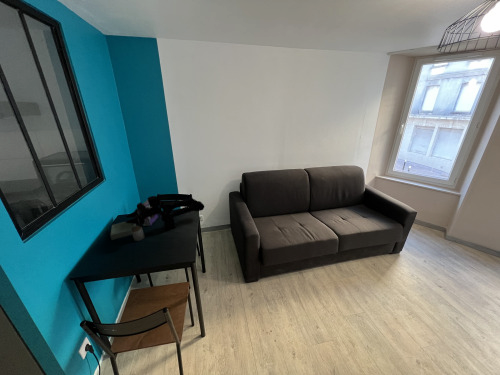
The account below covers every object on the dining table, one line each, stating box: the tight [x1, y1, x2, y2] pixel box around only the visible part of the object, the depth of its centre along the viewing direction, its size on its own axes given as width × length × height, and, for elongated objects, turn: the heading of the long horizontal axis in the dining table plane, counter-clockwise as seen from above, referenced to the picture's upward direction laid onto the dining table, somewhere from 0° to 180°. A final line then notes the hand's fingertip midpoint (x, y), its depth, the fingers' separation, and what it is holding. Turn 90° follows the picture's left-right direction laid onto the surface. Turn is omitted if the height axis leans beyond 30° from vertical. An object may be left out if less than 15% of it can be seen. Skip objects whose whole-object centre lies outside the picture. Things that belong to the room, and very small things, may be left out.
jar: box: [131, 225, 145, 242], centre depth 131 cm, size 6×6×8 cm
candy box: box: [142, 199, 159, 227], centre depth 149 cm, size 14×6×16 cm, turn 179°
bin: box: [110, 221, 137, 241], centre depth 139 cm, size 15×15×4 cm
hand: (126, 219), depth 125 cm, fingers open, 9 cm apart
